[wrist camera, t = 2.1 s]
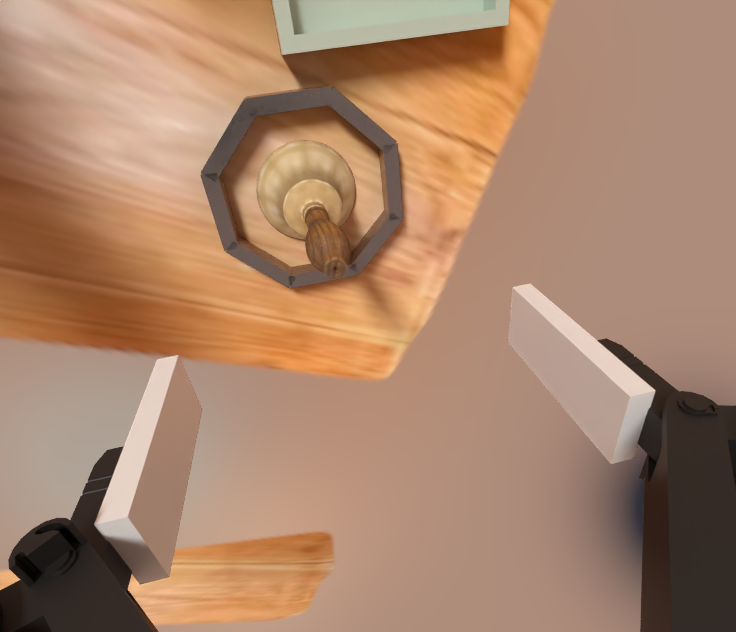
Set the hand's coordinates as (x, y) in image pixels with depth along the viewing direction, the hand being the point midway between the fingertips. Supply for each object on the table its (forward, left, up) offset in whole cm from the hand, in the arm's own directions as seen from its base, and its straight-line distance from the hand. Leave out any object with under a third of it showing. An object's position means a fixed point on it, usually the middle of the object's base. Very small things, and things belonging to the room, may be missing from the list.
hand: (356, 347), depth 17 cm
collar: (0, 0, -23) cm, 23 cm away
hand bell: (0, 0, -23) cm, 23 cm away
